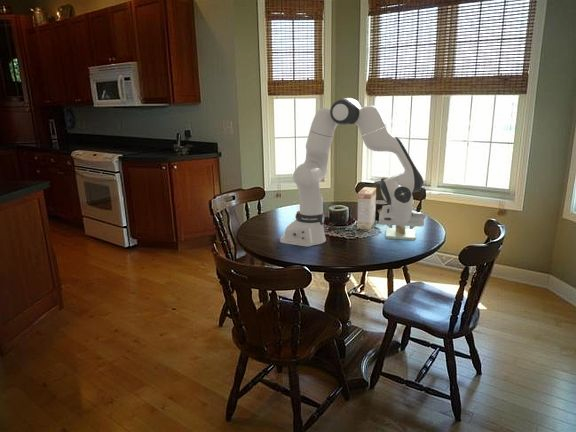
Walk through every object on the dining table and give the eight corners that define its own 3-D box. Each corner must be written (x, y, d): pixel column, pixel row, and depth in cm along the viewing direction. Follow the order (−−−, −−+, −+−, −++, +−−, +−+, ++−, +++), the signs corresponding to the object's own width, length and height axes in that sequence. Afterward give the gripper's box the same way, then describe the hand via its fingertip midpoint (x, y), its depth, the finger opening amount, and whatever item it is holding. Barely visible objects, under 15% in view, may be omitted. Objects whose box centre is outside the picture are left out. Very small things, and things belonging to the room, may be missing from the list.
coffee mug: (389, 218, 240) (390, 201, 237) (384, 222, 233) (385, 204, 230) (370, 215, 246) (371, 199, 243) (364, 219, 239) (365, 202, 236)
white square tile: (385, 238, 207) (385, 235, 207) (386, 229, 220) (386, 227, 220) (415, 240, 203) (415, 237, 203) (414, 231, 216) (414, 228, 216)
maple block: (395, 233, 210) (396, 216, 207) (395, 230, 214) (396, 213, 212) (404, 234, 209) (405, 216, 206) (405, 231, 213) (405, 214, 210)
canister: (393, 209, 258) (394, 177, 252) (389, 213, 249) (391, 180, 243) (375, 207, 262) (376, 176, 257) (371, 212, 253) (372, 179, 247)
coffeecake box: (363, 220, 236) (363, 186, 231) (375, 221, 234) (376, 187, 228) (356, 228, 223) (357, 192, 218) (370, 229, 220) (371, 193, 215)
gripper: (426, 207, 186) (424, 222, 198) (379, 205, 191) (379, 220, 203) (426, 220, 183) (423, 234, 195) (378, 217, 188) (378, 231, 200)
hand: (400, 227), depth 199 cm, fingers open, 8 cm apart
